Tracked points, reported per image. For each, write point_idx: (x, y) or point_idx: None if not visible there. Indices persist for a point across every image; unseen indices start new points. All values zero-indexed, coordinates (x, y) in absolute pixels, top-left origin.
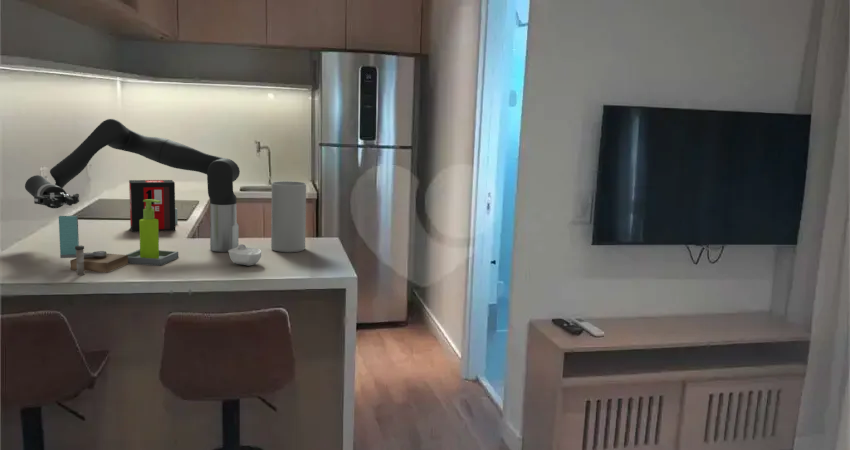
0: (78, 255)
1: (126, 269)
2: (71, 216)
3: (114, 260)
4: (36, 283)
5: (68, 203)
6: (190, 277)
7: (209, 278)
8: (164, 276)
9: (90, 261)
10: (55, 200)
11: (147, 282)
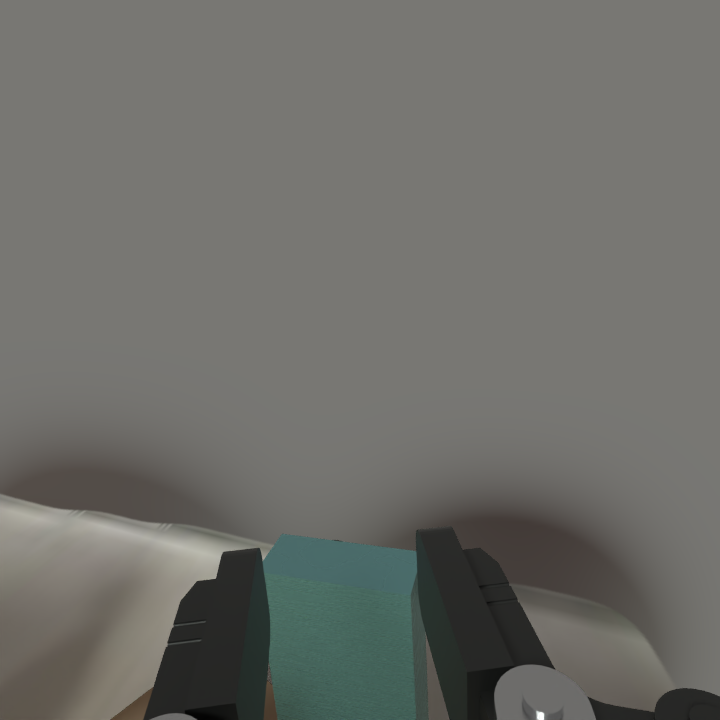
0: None
1: (114, 711)
2: (316, 550)
3: (150, 691)
4: (518, 598)
5: (264, 652)
6: (36, 538)
7: (9, 519)
8: (86, 566)
9: (272, 696)
10: (450, 535)
11: (179, 525)
